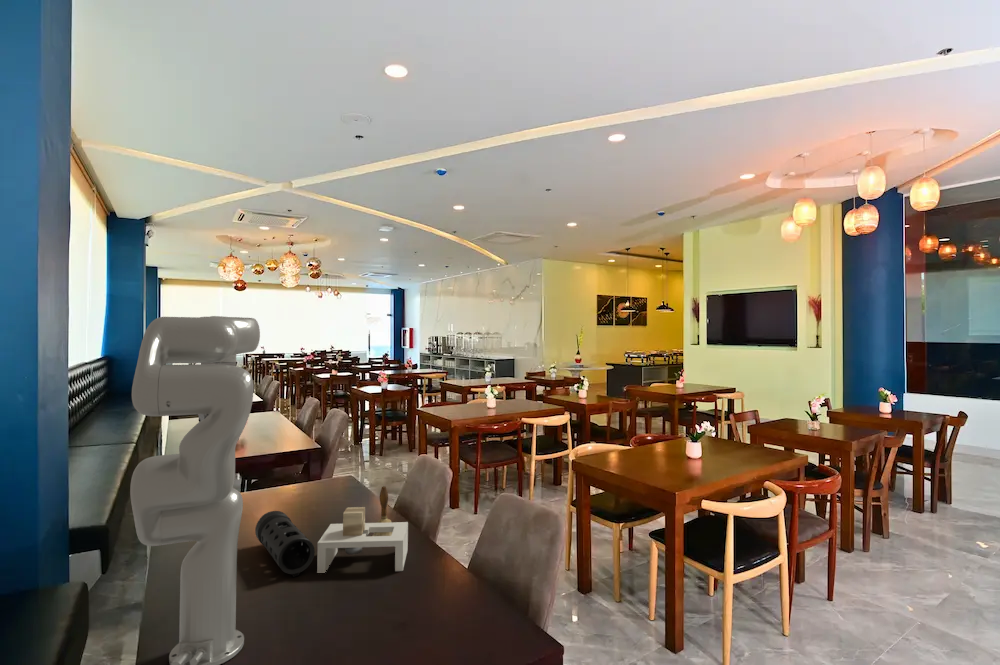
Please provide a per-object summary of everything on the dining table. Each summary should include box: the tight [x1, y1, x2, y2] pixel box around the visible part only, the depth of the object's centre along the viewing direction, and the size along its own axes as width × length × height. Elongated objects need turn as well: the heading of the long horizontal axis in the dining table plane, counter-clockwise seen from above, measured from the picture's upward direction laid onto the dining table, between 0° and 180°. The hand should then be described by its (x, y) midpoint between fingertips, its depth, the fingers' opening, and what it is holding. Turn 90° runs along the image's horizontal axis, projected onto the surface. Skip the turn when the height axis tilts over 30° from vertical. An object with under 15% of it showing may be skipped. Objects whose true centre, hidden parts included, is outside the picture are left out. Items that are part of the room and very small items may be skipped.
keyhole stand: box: [316, 521, 409, 574], centre depth 141 cm, size 14×22×8 cm, turn 95°
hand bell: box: [372, 485, 392, 536], centre depth 157 cm, size 8×8×16 cm
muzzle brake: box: [254, 510, 316, 577], centre depth 142 cm, size 10×28×10 cm, turn 37°
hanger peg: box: [342, 506, 366, 555], centre depth 141 cm, size 5×5×11 cm
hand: (217, 440), depth 124 cm, fingers open, 9 cm apart
